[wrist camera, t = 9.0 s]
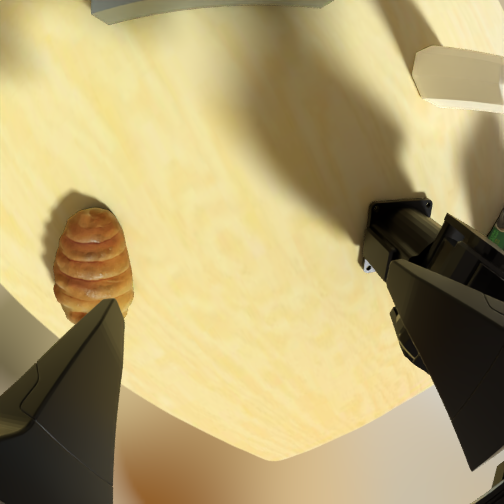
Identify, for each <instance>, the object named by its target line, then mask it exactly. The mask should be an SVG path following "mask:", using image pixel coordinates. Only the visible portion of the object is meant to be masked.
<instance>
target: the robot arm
mask: <svg viewBox="0 0 504 504" xmlns="http://www.w3.org/2000/svg"><path fill="white" fill-rule="evenodd" d="M427 203H428V204H427ZM426 204H427V206H426ZM376 206H377V209H376V210H374V208H375V207H376ZM431 210H432V201H431V200H430V199H428V198H419V199H402V200H387V201H374V202H372V203H371V204H370V206H369V213H368V223H367V228H366V230H365V238H364V246H363V253H362V255H363V262H362V269H363V270H364V272H366V273H369V272H375V271H376V272H377V273H378V275H379V276H380V277H381V278H382V279H383V281H384V282H386V284H387V288H388V290H389V293H390V295H391V297H392V299H393V302H394V304H395V307H393V309H392V310H391V312H390V316H391V319H392V322H393V325H394V328H395V331H396V334H397V338H398V341H399V344H400V347H401V349H402V351H403V354H404V356H405V357H407V358H408V359H409V360H410V361H411V362H412V363H413V364H414V365H416V366H417V367H419V368H421V369H422V370H424V371H425V372H426V373H428V374H429V375H430V376H431V378H432V380H433V382H434V385H435V387H436V389H437V391H438V393H439V395H440V397H441V399H442V402H443V404H444V406H445V408H446V410H447V413H448V415H449V417H450V420H452V421H451V422H452V425H453V427H454V429H455V432H456V434H457V437H458V439H459V441H460V444H461V447H462V449H463V451H464V454H465V456H466V459H467V462H468V465H469V467H470V469H471V471H474V470H475V469H477V468H478V467H480V466H481V465H483V464H484V463H486V462H487V461H489V460H490V459H491V458H493V457H494V456H495V455H497V454H498V453H500V452H501V451H502V450H503V449H504V251H503V250H502V249H501V248H500V247H499V246H497V245H496V244H495V243H494V242H492V241H491V240H489V239H488V238H487V237H485V236H484V235H483V234H481V233H480V232H478V231H477V230H475V229H474V228H472V227H470V226H469V225H467V224H465V223H464V222H462V221H460V220H459V219H457V218H455V217H454V216H452V215H450V214H448V213H447V214H446V216H445V218H444V220H445V221H444V223H443V225H442V226H441V225H439V224H438V223H437V222H435V221H434V220H432V219H431V218H430V216H431ZM367 266H369V267H368V268H367ZM124 329H125V322H124V317H123V315H122V312H121V310H120V307H119V305H118V302H117V300H116V299H115V298H108V299H103V300H102V301H100V302H99V303H98V304H97V305H96V306H95V307H94V308H93V309H92V310H91V311H89V312H88V313H87V314H86V315H85V316H84V317H83V318H82V319H81V320H80V321H79V322H77V323H76V324H75V325H74V326H73V327H72V328H71V329H70V330H69V331H68V332H67V333H66V334H65V335H64V336H63V337H62V338H60V339H59V341H57V342H56V343H55V344H54V345H53V346H52V347H51V348H50V349H49V350H48V351H47V352H46V353H45V354H44V355H43V356H42V357H41V358H40V359H39V360H38V361H37V363H35V364H34V365H33V366H32V367H31V368H30V369H29V370H28V371H27V372H26V373H25V374H24V375H23V376H22V377H21V378H20V379H19V380H18V381H17V382H15V383H14V384H13V385H12V386H11V387H10V388H9V389H8V390H6V391H5V392H4V393H3V394H2V395H1V396H0V504H113V487H112V486H113V466H114V447H115V433H116V421H117V411H118V402H119V393H120V385H121V377H122V369H123V352H124ZM471 504H504V461H503V462H502V463H501V464H499V465H498V466H497V469H496V473H495V477H494V481H493V485H492V488H491V490H489V491H488V492H486V493H485V494H484V495H482V496H481V497H479V498H478V499H477V500H475V501H474V502H472V503H471Z"/></svg>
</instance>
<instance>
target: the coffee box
mask: <svg viewBox="0 0 504 504" xmlns="http://www.w3.org/2000/svg"><path fill="white" fill-rule="evenodd" d="M487 238H488V239H489V240H491V241H492V242H494V243H495V244H496V245H497V246H499V247H500V248H501V249H502V250H503V251H504V209H503V210H502V212H501V214H500V216H499V218H498V220H497V222H496V223H495V225H494V227H493V229H492V230H491V232H490V234H489V235H488V237H487Z"/></svg>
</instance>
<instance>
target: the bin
mask: <svg viewBox="0 0 504 504" xmlns="http://www.w3.org/2000/svg"><path fill="white" fill-rule="evenodd" d="M332 1H334V0H91V14H92V15H94V16H95V17H97V18H98V19H100V20H102V21H103V22H105V23H106V24H108V25H110V24H114V23H118V22H122V21H126V20H131V19H135V18H140V17H145V16H150V15H155V14H161V13H167V12H173V11H180V10H187V9H196V8H206V7H218V6H236V5H282V6H300V7H313V8H322V7H324V6H325V5H327V4H329V3H330V2H332Z"/></svg>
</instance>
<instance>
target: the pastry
mask: <svg viewBox="0 0 504 504" xmlns="http://www.w3.org/2000/svg"><path fill="white" fill-rule="evenodd" d="M53 269H54V275H55V282H56V284H55V285H54V288H53V289H54V294H55V297H56V298H57V301H58V302H59V303H61V306H62V308H63V310H64V312H65V314H66V317H67V319H69V320H70V321H71V322H72V323H74V324H76V323H77V322H79V321H80V320H81V319H82V318H83V317H84V316H85V315H86V314H87V313H88V312H89V311H91V310H92V309H93V308H94V307H95V306H96V305H97V304H98V303H99V302H100V301H102V300H103V299H108V298H115V299H116V300H117V302H118V305H119V307H120V310H121V312H122V315H123V317H124V318H125V316H126V315H127V311H128V307H129V306H130V304H131V302H132V300H133V297H134V292H133V279H132V270H131V265H130V260H129V255H128V251H127V247H126V242H125V237H124V233H123V230H122V228H121V226H120V224H119V223H118V221H117V219H116V217H115V216H114V215H113V214H112V213H111V212H110V211H108V210H105V209H101V208H89V209H85V210H80V211H78V212H77V213H76V214H74V215H73V216H71V217H70V218H69V219H68V220H67V224H66V226H65V230H64V232H63V234H62V236H61V237H60V241H59V247H58V250H57V253H56V259H55V261H54V266H53Z"/></svg>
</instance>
